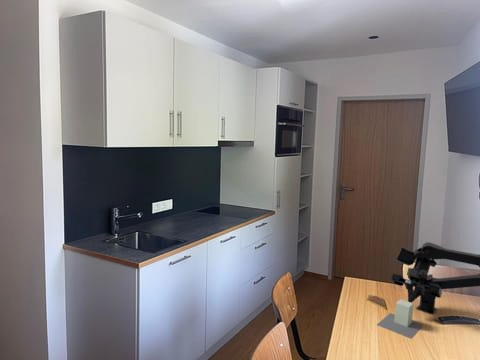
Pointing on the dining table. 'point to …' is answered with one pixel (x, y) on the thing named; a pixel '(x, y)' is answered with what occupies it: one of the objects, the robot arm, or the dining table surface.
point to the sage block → (403, 312)
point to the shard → (376, 301)
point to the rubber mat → (400, 326)
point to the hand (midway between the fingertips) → (409, 302)
